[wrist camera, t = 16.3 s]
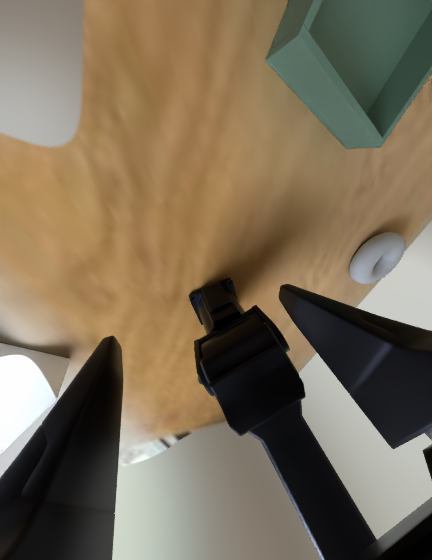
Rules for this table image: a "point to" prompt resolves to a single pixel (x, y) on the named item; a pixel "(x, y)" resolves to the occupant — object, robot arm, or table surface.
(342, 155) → the table surface
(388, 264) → the donut
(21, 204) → the table surface
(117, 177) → the table surface
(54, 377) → the file organizer
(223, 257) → the table surface
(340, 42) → the green shallow rectangular tray
